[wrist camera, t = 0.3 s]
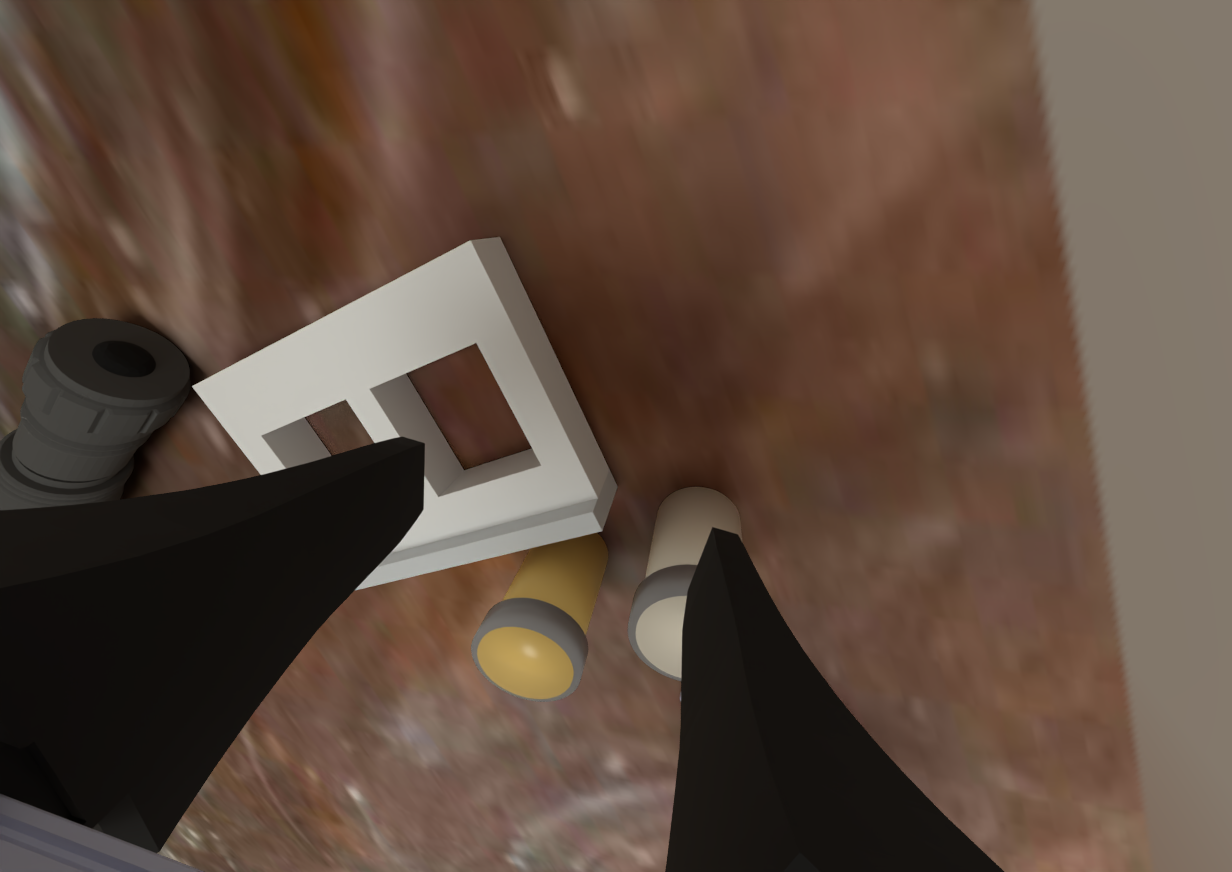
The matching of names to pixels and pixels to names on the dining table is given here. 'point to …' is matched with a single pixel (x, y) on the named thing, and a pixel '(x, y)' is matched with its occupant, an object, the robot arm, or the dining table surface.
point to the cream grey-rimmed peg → (675, 573)
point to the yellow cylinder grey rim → (543, 621)
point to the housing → (391, 407)
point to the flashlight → (88, 412)
